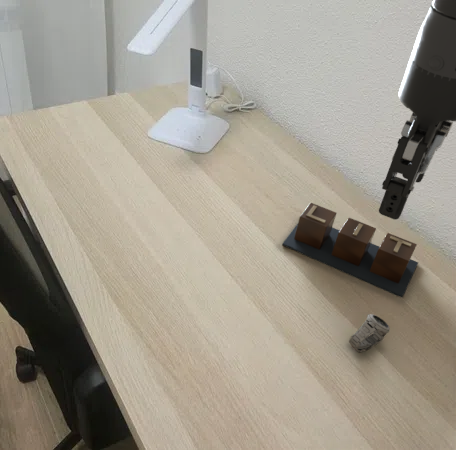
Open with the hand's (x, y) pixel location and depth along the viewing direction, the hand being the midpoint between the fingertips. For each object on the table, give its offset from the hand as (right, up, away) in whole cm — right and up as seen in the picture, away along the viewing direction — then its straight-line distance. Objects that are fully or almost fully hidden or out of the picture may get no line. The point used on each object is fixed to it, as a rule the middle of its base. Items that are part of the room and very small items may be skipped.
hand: (400, 196), depth 62 cm
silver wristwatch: (+2, -20, +15) cm, 25 cm away
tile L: (-1, -5, +31) cm, 32 cm away
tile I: (+4, -8, +29) cm, 30 cm away
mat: (+4, -8, +29) cm, 30 cm away
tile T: (+10, -10, +26) cm, 30 cm away
